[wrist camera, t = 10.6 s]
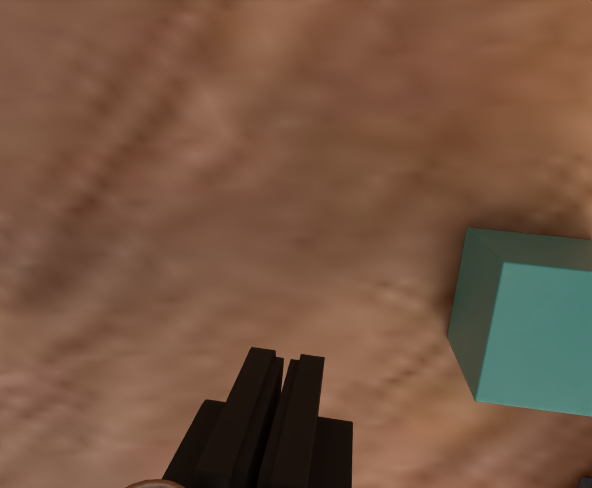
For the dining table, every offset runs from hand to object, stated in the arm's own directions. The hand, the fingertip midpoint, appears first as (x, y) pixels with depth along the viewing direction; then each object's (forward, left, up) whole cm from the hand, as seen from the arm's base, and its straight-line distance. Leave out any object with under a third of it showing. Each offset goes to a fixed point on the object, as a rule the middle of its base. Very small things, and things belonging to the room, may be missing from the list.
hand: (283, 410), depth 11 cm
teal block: (+8, 0, -11) cm, 14 cm away
